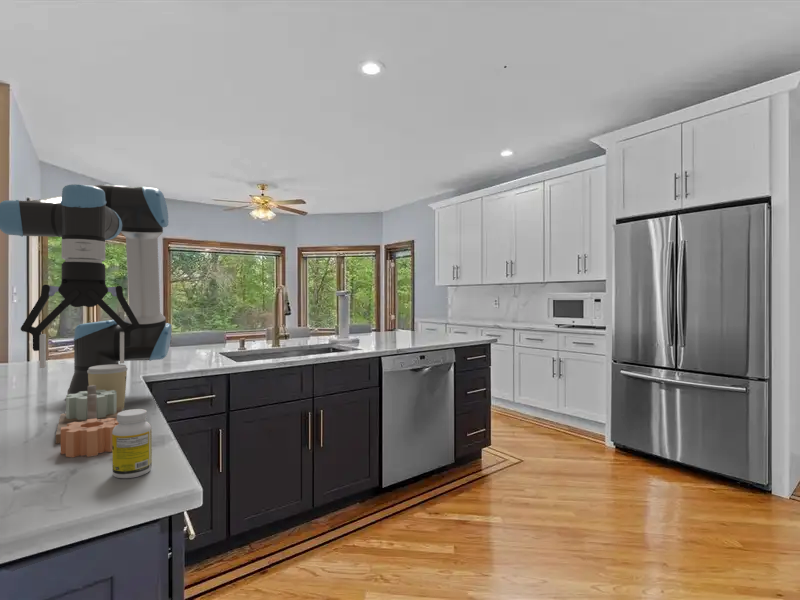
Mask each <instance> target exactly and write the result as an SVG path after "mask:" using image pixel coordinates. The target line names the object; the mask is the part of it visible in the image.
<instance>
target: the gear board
mask: <svg viewBox="0 0 800 600" xmlns="http://www.w3.org/2000/svg"><path fill="white" fill-rule="evenodd" d="M122 411H123V410H122V408H117V412H116V413H115V414H108V415H106V417H101V418H97V394H96V385H91V386H88V395H87V419H94V418H97V420H98V419H107V418H116V421H117V414H118V413H119V412H122ZM87 419H86V420H78V419H77V418H73V419H67V418H66V412H65V413H60V415H59V419H58V424H57V428H56V433H55V445H56V444H57V445H58V444H61V427H67V424H69V423H72V422H82V421H87Z"/></svg>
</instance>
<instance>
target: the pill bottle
mask: <svg viewBox="0 0 800 600" xmlns="http://www.w3.org/2000/svg"><path fill="white" fill-rule="evenodd" d="M147 414H148V413H147V410H146V409H142V408H133V409H126V410H125V409H124V410H122V412H119V413H118V414H117V422H118V423H119V424H118V425H117V426H115V427H114V429H113V431H112V455H111V457H112V476H113V477H115V478H118V479H133V478H138V477H142V476H144V475H146V474H148V473H149V472H150V471H151V470H152V462H153V461H152V460H153V459H152V458H153V455H152V453H153V451H152V426H151V423H149V422H148V421H146V419H147V416H148V415H147Z"/></svg>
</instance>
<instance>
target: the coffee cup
mask: <svg viewBox="0 0 800 600" xmlns="http://www.w3.org/2000/svg"><path fill="white" fill-rule="evenodd" d="M127 372H128V367H127V365H126V364H122V363H121V364H120V363H119V364H109V365H98V366H92V367H89V368H88V370H87V373H88V383H89V386H91V385H96V390H105V391H110V390H114V391H116V393H117V408H122V411H124V410H125V402H126V401H125V400H126V389H127V377H128V376H127Z"/></svg>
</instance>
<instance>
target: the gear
mask: <svg viewBox="0 0 800 600" xmlns="http://www.w3.org/2000/svg"><path fill="white" fill-rule="evenodd" d="M96 394H97V418H101V417H106V415H108V414H115V413H116V412H117V393H116V391H114V390H110V391H105V390H96ZM87 395H88V391H82V392H78V393H76V394H69V395H67V394H66V395H65V396H66V397H65V413H66V418H67V419H73V418H77V419H78V420H86V419H87Z"/></svg>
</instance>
